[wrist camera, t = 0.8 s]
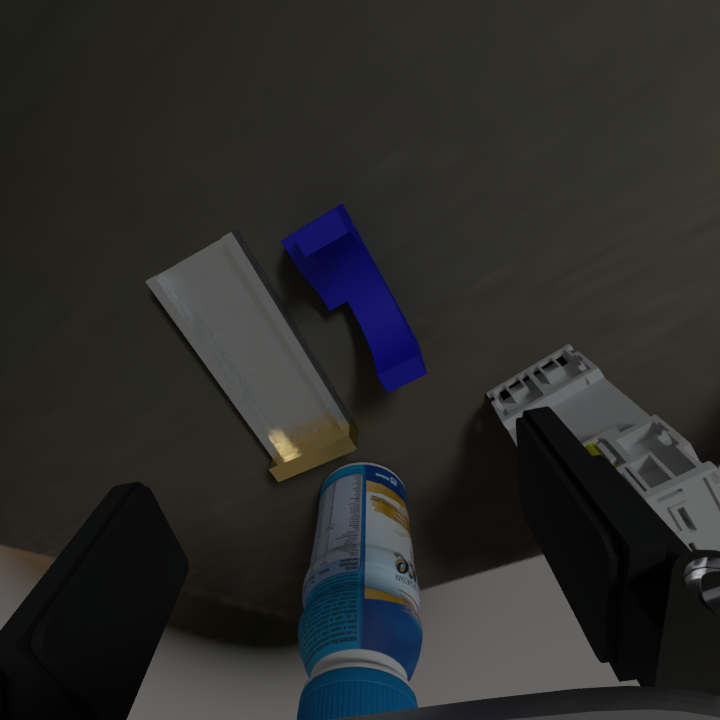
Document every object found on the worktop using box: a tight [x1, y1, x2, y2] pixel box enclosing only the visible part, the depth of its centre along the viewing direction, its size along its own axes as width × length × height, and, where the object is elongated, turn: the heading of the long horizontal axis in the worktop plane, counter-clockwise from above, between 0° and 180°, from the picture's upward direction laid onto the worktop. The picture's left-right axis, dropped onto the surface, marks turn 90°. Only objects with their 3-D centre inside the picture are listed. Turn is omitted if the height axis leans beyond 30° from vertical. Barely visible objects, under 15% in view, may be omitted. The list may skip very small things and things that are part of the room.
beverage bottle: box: [297, 462, 422, 720], centre depth 30 cm, size 8×8×20 cm
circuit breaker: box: [486, 344, 720, 551], centre depth 29 cm, size 8×14×15 cm, turn 37°
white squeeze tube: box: [145, 230, 358, 482], centre depth 32 cm, size 8×19×3 cm, turn 27°
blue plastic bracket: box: [281, 204, 427, 393], centre depth 29 cm, size 12×4×6 cm, turn 30°
